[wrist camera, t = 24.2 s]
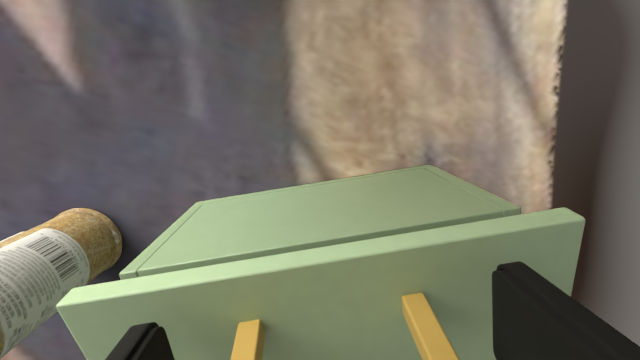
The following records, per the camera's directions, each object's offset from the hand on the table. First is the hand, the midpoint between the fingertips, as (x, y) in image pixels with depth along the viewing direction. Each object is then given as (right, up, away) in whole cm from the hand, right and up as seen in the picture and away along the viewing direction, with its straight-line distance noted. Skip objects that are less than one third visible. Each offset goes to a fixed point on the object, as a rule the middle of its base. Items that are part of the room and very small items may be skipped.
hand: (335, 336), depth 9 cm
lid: (+1, -5, +4) cm, 6 cm away
